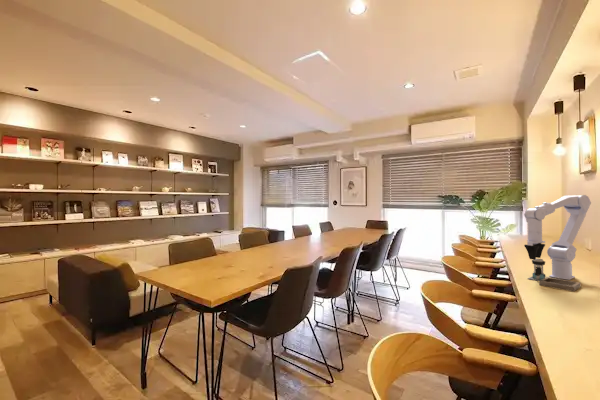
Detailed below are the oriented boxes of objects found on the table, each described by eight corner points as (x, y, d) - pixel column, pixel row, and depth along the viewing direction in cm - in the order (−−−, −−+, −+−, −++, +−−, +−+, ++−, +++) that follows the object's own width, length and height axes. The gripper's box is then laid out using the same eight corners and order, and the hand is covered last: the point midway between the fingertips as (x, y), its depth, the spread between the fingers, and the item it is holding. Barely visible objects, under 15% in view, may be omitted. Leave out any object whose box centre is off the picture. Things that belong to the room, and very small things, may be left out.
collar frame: (547, 281, 140) (547, 277, 140) (580, 287, 130) (580, 282, 130) (539, 285, 134) (539, 280, 134) (573, 291, 124) (573, 286, 124)
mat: (533, 276, 148) (533, 276, 148) (550, 279, 143) (550, 278, 143) (527, 279, 144) (527, 278, 144) (545, 282, 138) (545, 281, 138)
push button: (550, 279, 141) (550, 259, 142) (547, 281, 138) (547, 261, 138) (533, 276, 147) (533, 257, 147) (530, 278, 144) (530, 259, 144)
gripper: (539, 233, 137) (540, 261, 137) (549, 231, 145) (549, 258, 145) (522, 232, 143) (522, 259, 143) (532, 230, 151) (532, 255, 151)
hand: (535, 258), depth 144 cm, fingers open, 7 cm apart
